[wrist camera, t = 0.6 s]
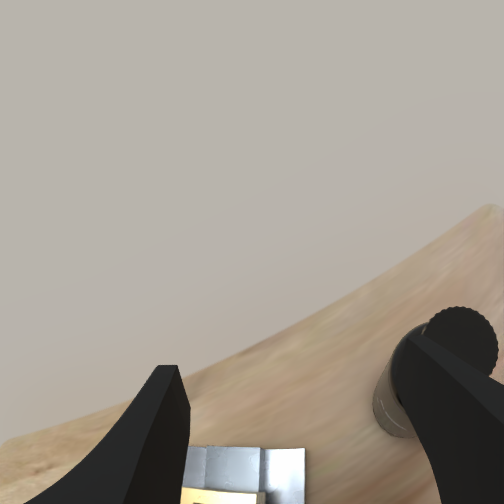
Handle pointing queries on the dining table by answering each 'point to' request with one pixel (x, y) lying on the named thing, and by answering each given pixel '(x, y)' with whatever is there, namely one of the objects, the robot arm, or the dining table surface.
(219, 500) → the brass collar
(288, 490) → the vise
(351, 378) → the dining table surface
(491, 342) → the supplement bottle
